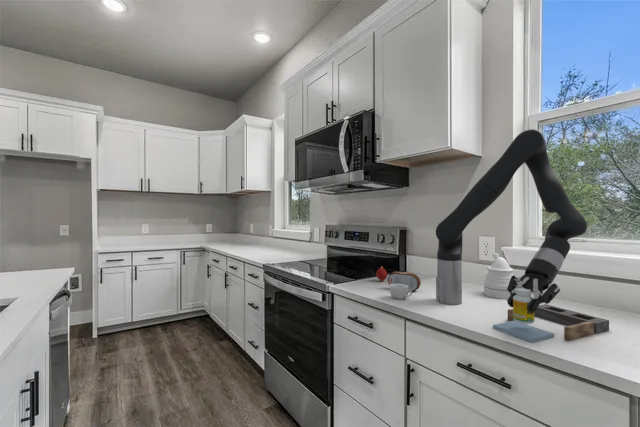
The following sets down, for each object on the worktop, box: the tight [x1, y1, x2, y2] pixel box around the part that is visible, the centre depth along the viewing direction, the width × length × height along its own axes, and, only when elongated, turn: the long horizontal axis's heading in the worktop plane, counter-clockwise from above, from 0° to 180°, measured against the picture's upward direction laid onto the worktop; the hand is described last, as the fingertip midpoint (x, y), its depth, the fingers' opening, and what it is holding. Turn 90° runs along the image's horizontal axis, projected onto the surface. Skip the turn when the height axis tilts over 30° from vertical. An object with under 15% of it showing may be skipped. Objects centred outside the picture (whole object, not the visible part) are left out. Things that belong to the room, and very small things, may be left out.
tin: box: [387, 270, 422, 292], centre depth 145 cm, size 15×3×8 cm, turn 58°
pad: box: [492, 320, 555, 344], centre depth 93 cm, size 10×12×1 cm
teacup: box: [389, 284, 413, 301], centre depth 131 cm, size 10×8×5 cm
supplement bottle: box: [512, 287, 535, 325], centre depth 94 cm, size 5×5×10 cm
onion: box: [375, 266, 388, 282], centre depth 164 cm, size 6×6×8 cm
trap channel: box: [507, 303, 610, 342], centre depth 100 cm, size 20×18×4 cm
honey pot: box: [483, 252, 515, 300], centre depth 136 cm, size 13×13×18 cm
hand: (519, 308), depth 93 cm, fingers closed on supplement bottle, 5 cm apart
